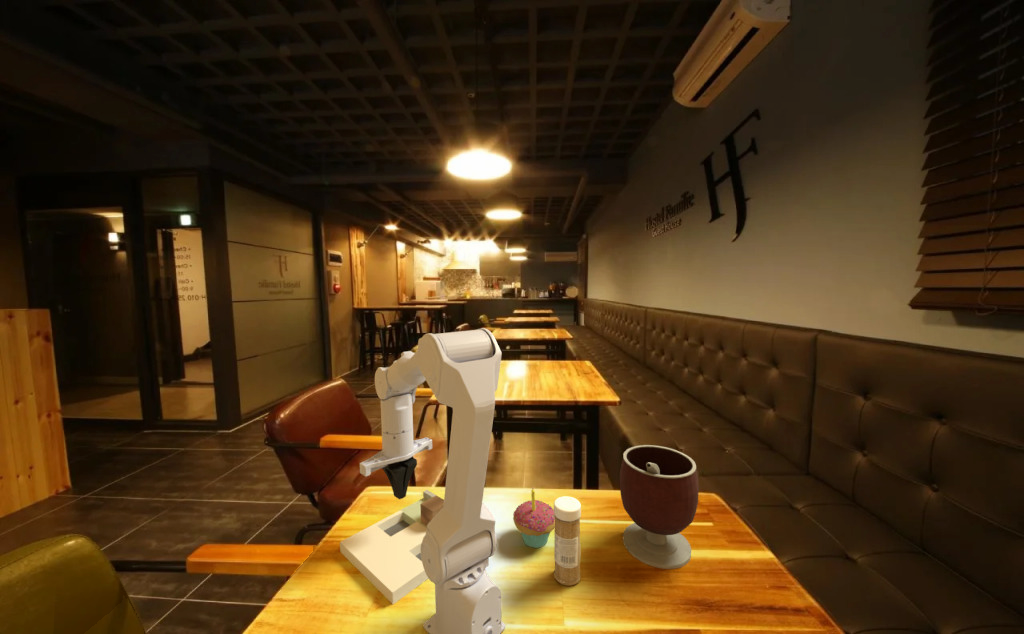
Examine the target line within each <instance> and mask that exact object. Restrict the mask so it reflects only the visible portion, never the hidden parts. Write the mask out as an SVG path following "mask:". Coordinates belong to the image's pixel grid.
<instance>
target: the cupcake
mask: <svg viewBox="0 0 1024 634" xmlns="http://www.w3.org/2000/svg"><path fill="white" fill-rule="evenodd" d="M530 491H531V493H530V494H531V500H527V501H524V502H523V503H520V504H519V505H518V506H517V507H516V509H515V510H514V511H513V513H512V514H513V517H512V519H513V523H514V526H515V528H516V529H517V531H519V532H520V534H521V536H522V539H523V542H524V544H525V545H526V546H528V547H530V548H535V549H536V548H541V547H543V546H546V544H547V543H548V540H549V537H550V534H551V532H552V531H553V530H555V516H554V508H553V507H552V506H551V505H549V503H546V502H543V501H542V500H537V499H536V490H535V489H534V486H532V488H531V490H530Z"/></svg>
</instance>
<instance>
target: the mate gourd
mask: <svg viewBox="0 0 1024 634" xmlns="http://www.w3.org/2000/svg"><path fill="white" fill-rule="evenodd" d="M622 455H623V457H622V461H621V465H620V466H621V467H620V471H619V492H620V496H621V497H620V498H621V502H622V506H623V508H624V510H625V512H626V513H627V515H628V516H629V517H630V519H631V520H632V522H633V523H632V524H630V525H628V526H627V527H625V529H624V530H623V532H622V542H623V546H624V547H625V549H626V551H628V553H629V554H630V555H631V556H633V557H634V558H635V559H637V561H640V562H641V563H643V564H645V565H648V566H651V567H654V568H658V569H665V570H672V569H678V568H682V567H684V566H685V565H687V564H689V562H690V560H691V558H692V547H691V544H690V543H689V541H688V540H687V538H686V537H685V536H684V535H683V534H681V532H683V531H684V530H685V529H686V528H688V527H689V526H690V525H692V523H693V521H694V518H695V516H696V513H697V509H698V505H699V490H700V489H699V485H700V484H699V477H698V472H697V465H696V461H694V459H692V457H690V456H689V455H687V454H685V453H684V452H681V451H680V450H679V451H678V450H676V449H674V448H671V447H666V446H661V445H654V444H653V445H651V444H643V445H634V446H632V447H628V448H627V449H626V450H625V451H624V452H623V454H622Z"/></svg>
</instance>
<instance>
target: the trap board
mask: <svg viewBox="0 0 1024 634" xmlns="http://www.w3.org/2000/svg"><path fill="white" fill-rule="evenodd" d="M422 493H423V495H422V496H423V497H422V498H420V499H419V500H417V501H415V502H413V503H411V504H409V505H407V506H406V507H403V508H402V509H400V510H398V511H396V512H394V513H393V514H391V515H389V516H386V517H385V518H383V519H380V520H379V521H376V522H375V523H374V524H372V525H370V526H367V527H366V528H364V529H362V530H360V531H357V532H356V533H355V534H353V535H350V536H349V537H346V538H345V539H343V540H342V541H340V542H339V549H340V550H339V551H340V552H339V553H341V554H342V555H343V556H344V557H345V558H346V559H347V560H348V561H349V562H350V563H351V564H352V565H353V566H354V567H355V568H356V569H357V570H358V571H359V572H360V573H361V575H363V576H364V577H365V578H366V579H367V580H368V581H369V582H370V583H371V584H372V585H373V586H374V587H375V588H376V589H377V590H378V591H379V592H380V593H381V594H382V595H383V596H384V597H385V598H386V599H387V600H388V601H389V602H390V603H391V604H392V605H394V604H396V603H397V602H398V601H400V600H401V599H402V598H404V597H405V596H406V595H408V594H410V593H411V592H412V591H413V590H415V589H416V588H418V587H419V586H420V585H422V584H423V583H424V582H425V581H427V580H428V579H429V578H428V576H427V575H426V572H425V570H424V567H423V564H422V559H421V544H422V540H423V538H424V536H425V535H426V529H427V526H425V525H424V524H422V523H421V506H420V504H421V503H423V502H425V501H427V500H428V499H430V498H432V497H434V496H436V494H435V493H433V492H431V491H430V490H428V489H426V490H424V491H422Z"/></svg>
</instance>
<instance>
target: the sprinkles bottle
mask: <svg viewBox="0 0 1024 634" xmlns="http://www.w3.org/2000/svg"><path fill="white" fill-rule="evenodd" d="M553 510H554V516H555V528H554V529H553V530H554V549H553V550H554V551H553V553H554V572H553V576H554V579H555V580H556V581H557V582H558V583H559V584H561V585H562V586H569V587H570V586H574V585H576V584H578V583H579V582H580V580H581V572H580V571H581V567H580V566H581V565H580V564H581V563H580V562H581V528H580V527H581V523H580V522H581V521H580V519H581V516H582V515H581V514H582V505H581V502H580V501H579V500H578V499H577V498H575V497H573V496H569V495H568V496H560V497H558V498H556V499H555V500H554V501H553Z"/></svg>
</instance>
